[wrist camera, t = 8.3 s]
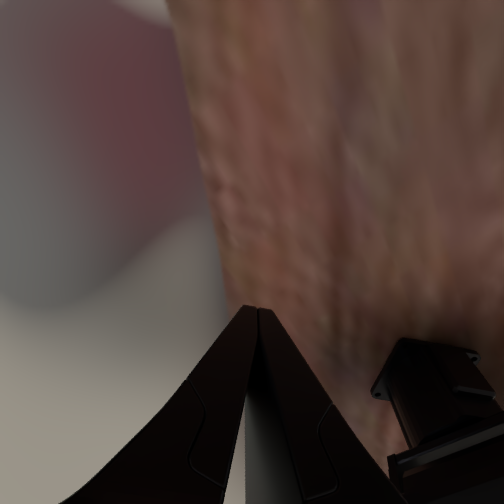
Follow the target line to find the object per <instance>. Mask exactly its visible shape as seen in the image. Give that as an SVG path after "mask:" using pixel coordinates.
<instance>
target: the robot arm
mask: <svg viewBox="0 0 504 504" xmlns="http://www.w3.org/2000/svg"><path fill="white" fill-rule="evenodd" d="M405 344H406V345H405ZM480 359H481V357H480V355H479V354H478V353H477V352H476V351H473V350H468V349H462V348H457V347H452V346H447V345H441V344H436V343H430V342H425V341H419V340H414V339H408V338H402V339H400V340H399V341H398V342H397V343H396V345H395V347H394V349H393V351H392V352H391V354H390V356H389V358H388V360H387V361H386V363H385V365H384V367H383V369H382V370H381V372H380V374H379V376H378V378H377V379H376V381H375V383H374V385H373V387H372V388H371V391H370V392H371V395H372V397H373V398H375V399H381V400H387V401H390V402H391V404H392V407H393V409H394V412H395V414H396V417H397V419H398V422H399V424H400V427H401V430H402V432H403V435H404V437H405V440H406V442H407V445H408V447H409V450H406V451H404V452H401V453H399V454H396V455H395V454H392V455H390V456H387V461H388V467H389V469H388V471H389V477H390V479H389V478H388V477H387V476H386V474H385V473H384V472H383V471H382V469H381V468H380V467H379V466H378V464H377V463H376V462H375V460H374V459H373V458H372V457H371V455H370V454H369V453H368V451H367V450H366V449H365V447H364V446H363V445H362V443H361V442H360V441H359V439H358V438H357V437H356V435H355V434H354V432H353V431H352V430H351V428H350V427H349V425H348V424H347V422H346V421H345V419H344V418H343V417H342V415H341V413H340V412H339V410H338V409H337V407H336V406H335V405H334V404H333V402H332V400H331V399H330V397H329V395H328V394H327V392H326V391H325V389H324V388H323V386H322V385H321V383H320V382H319V380H318V379H317V377H316V376H315V374H314V373H313V371H312V370H311V368H310V367H309V365H308V364H307V362H306V360H305V359H304V357H303V356H302V354H301V353H300V351H299V350H298V348H297V347H296V345H295V344H294V342H293V341H292V339H291V338H290V336H289V335H288V333H287V332H286V330H285V329H284V327H283V326H282V324H281V322H280V321H279V319H278V318H277V316H276V315H275V313H274V312H273V311H272V310H271V309H265V308H258V309H257V308H256V307H254V306H249V305H243V306H241V308H240V309H239V310H238V312H237V313H236V314H235V316H234V317H233V318H232V319H231V321H230V322H229V323H228V325H227V326H226V327H225V329H224V330H223V331H222V332H221V334H220V335H219V336H218V338H217V339H216V340H215V342H214V343H213V344H212V346H211V347H210V348H209V349H208V351H207V352H206V353H205V355H204V356H203V357H202V359H201V360H200V361H199V363H198V364H197V365H196V366H195V368H194V369H193V370H192V371H191V373H190V374H189V376H188V377H187V378H186V380H184V382H183V383H182V384H181V386H180V387H179V388H178V389H177V391H176V392H175V393H174V394H173V396H172V397H171V398H170V399H169V400H168V402H167V403H166V404H165V405H164V406H163V407H162V409H161V410H160V411H159V412H158V413H157V414H156V415H155V416H154V417H153V418H152V419H151V420H150V421H149V422H148V423H147V424H146V425H145V426H144V427H143V428H142V429H141V430H140V431H139V432H138V433H137V434H136V435H135V436H134V437H133V438H132V439H131V440H130V441H129V442H128V443H127V444H126V445H125V446H124V447H123V448H122V449H121V450H120V451H119V452H118V453H117V454H116V455H115V456H114V457H113V458H112V459H111V460H110V461H109V462H108V463H107V464H106V465H105V466H104V467H103V468H102V469H101V470H100V471H99V472H98V473H97V474H96V475H95V476H94V477H93V478H91V480H89V481H88V482H87V483H86V484H85V485H84V486H82V488H80V489H79V490H78V491H76V492H75V493H74V494H72V495H71V496H70V497H68V498H67V499H65V500H64V501H62V502H60V503H59V504H223V502H224V497H225V492H226V488H227V483H228V478H229V474H230V469H231V464H232V459H233V455H234V449H235V445H236V440H237V435H238V430H239V426H240V421H241V417H242V412H243V407H244V402H245V490H246V491H245V493H246V494H245V498H246V504H504V411H503V410H502V409H501V407H500V406H499V405H498V403H497V402H496V401H495V399H494V398H495V397H496V394H495V391H494V390H493V389H492V387H491V386H490V385H489V383H488V382H487V380H486V379H485V378H484V376H483V375H482V374H481V372H480V371H479V370H478V368H477V367H476V365H477V364H478V362H479V361H480ZM332 404H333V405H332Z"/></svg>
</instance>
